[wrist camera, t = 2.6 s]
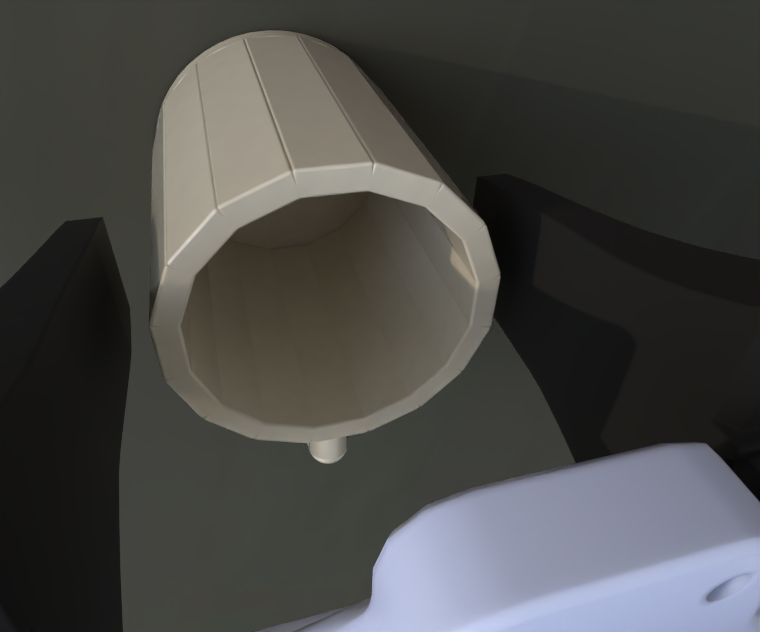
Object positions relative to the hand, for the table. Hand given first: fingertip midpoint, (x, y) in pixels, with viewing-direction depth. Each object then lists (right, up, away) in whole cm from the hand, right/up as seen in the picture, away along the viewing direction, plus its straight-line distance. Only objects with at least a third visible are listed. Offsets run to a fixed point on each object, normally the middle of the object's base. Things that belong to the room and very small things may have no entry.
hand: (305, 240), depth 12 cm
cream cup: (-1, +2, +4) cm, 4 cm away
